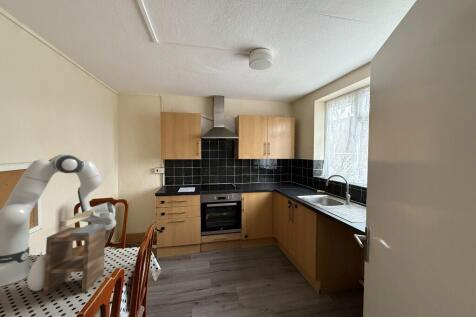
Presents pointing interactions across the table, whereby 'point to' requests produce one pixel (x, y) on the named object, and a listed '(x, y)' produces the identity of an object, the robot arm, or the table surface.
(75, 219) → the beech bar
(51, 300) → the table surface
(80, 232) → the slate tile
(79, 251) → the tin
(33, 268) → the sauce bottle
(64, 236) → the walnut stand
